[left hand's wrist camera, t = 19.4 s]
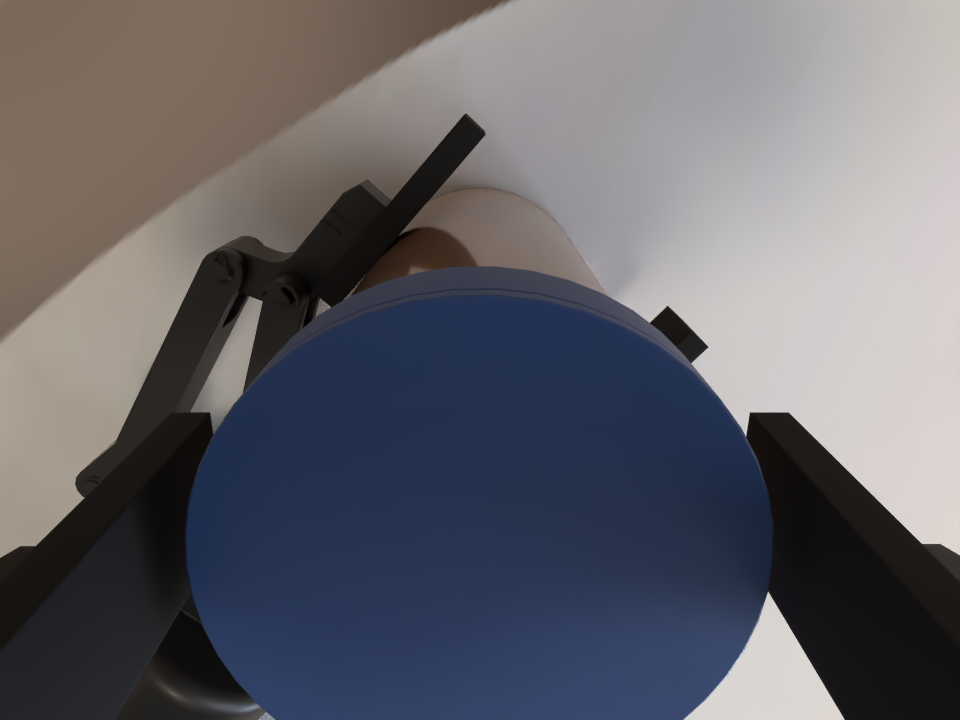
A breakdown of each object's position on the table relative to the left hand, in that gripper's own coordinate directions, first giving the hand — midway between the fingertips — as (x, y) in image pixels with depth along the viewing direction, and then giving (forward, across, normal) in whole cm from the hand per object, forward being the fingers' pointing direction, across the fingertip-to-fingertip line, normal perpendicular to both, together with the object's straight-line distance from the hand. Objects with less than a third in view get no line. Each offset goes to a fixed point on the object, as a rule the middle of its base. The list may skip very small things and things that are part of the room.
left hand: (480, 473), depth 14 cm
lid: (-3, 0, 0) cm, 3 cm away
